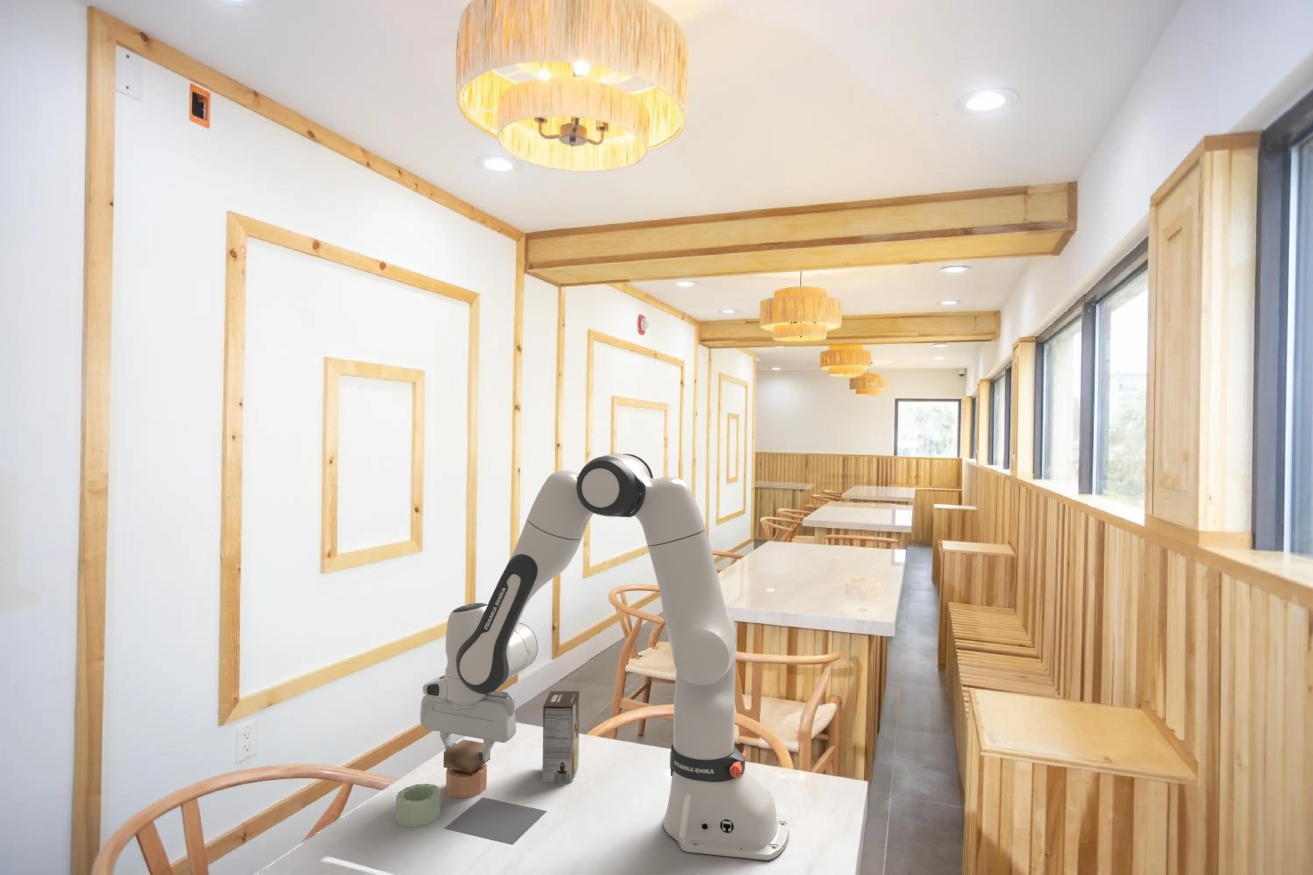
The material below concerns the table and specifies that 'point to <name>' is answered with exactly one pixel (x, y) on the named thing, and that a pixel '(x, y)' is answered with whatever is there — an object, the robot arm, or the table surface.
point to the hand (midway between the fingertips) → (467, 756)
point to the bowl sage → (418, 805)
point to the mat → (496, 820)
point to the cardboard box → (464, 756)
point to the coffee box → (560, 736)
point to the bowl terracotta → (466, 782)
